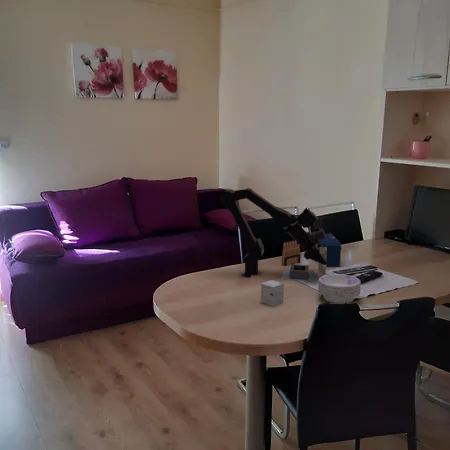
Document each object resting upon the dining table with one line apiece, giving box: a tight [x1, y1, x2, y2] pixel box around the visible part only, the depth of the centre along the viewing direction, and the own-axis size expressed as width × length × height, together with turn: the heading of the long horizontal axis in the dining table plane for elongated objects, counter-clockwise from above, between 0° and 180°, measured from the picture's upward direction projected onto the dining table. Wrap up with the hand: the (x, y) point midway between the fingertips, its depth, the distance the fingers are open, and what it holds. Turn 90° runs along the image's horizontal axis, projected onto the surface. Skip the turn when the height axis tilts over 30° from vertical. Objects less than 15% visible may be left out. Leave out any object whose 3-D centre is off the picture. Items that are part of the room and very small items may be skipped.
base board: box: [280, 270, 330, 283], centre depth 197 cm, size 24×12×1 cm, turn 77°
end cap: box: [289, 264, 310, 280], centre depth 197 cm, size 7×9×4 cm
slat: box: [317, 247, 327, 279], centre depth 194 cm, size 3×5×12 cm, turn 167°
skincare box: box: [260, 279, 285, 307], centre depth 169 cm, size 6×6×7 cm
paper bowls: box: [317, 273, 362, 304], centre depth 172 cm, size 15×15×8 cm
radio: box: [316, 233, 342, 268], centre depth 219 cm, size 21×9×20 cm, turn 179°
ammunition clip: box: [281, 239, 301, 267], centre depth 215 cm, size 11×2×12 cm, turn 127°
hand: (325, 262), depth 194 cm, fingers closed on slat, 5 cm apart
